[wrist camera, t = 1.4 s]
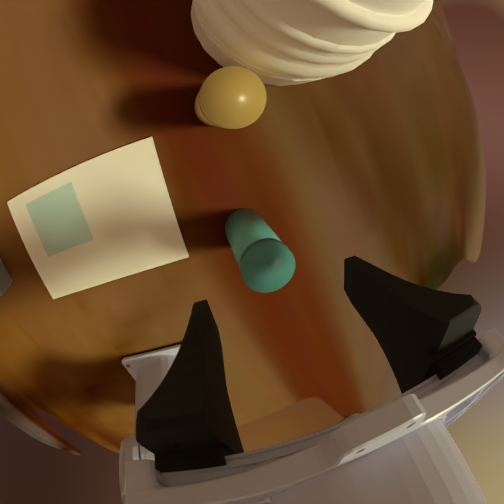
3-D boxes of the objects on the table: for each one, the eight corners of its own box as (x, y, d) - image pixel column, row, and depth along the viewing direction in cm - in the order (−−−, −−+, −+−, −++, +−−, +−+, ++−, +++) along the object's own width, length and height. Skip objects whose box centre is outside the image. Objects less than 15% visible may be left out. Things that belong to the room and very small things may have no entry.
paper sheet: (188, 255, 23) (188, 257, 23) (54, 297, 21) (53, 299, 21) (152, 136, 18) (151, 136, 18) (8, 201, 16) (6, 202, 16)
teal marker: (266, 239, 24) (297, 282, 18) (229, 250, 24) (248, 299, 17) (259, 203, 22) (291, 237, 16) (219, 214, 22) (237, 253, 16)
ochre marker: (242, 121, 19) (272, 121, 13) (198, 131, 19) (207, 135, 13) (233, 80, 18) (259, 61, 11) (188, 89, 17) (193, 73, 11)
